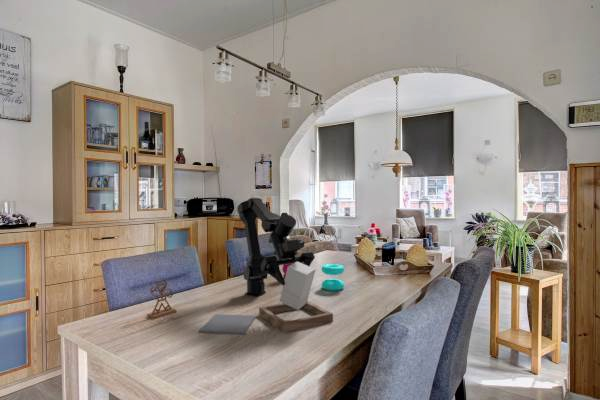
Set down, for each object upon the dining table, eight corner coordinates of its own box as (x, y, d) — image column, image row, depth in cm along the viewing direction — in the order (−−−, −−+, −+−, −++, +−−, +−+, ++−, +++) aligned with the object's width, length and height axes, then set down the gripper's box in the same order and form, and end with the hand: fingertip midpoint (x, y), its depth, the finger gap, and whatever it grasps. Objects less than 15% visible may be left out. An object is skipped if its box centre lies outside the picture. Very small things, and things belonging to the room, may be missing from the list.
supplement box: (307, 302, 116) (316, 269, 113) (297, 310, 109) (307, 275, 107) (288, 293, 119) (297, 260, 116) (278, 301, 112) (287, 266, 110)
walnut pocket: (259, 314, 117) (259, 307, 117) (304, 306, 126) (304, 299, 126) (283, 332, 102) (283, 324, 102) (332, 321, 111) (332, 313, 111)
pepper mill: (298, 277, 172) (298, 237, 172) (294, 280, 165) (293, 238, 165) (285, 275, 174) (285, 236, 174) (280, 279, 167) (279, 238, 167)
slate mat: (215, 316, 116) (215, 314, 116) (255, 317, 115) (255, 315, 115) (198, 332, 102) (198, 330, 102) (244, 334, 101) (244, 332, 101)
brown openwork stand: (170, 309, 123) (170, 276, 123) (176, 312, 121) (176, 278, 120) (146, 317, 116) (146, 281, 116) (153, 319, 113) (152, 283, 113)
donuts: (346, 264, 153) (340, 268, 144) (346, 286, 153) (340, 292, 144) (325, 262, 157) (318, 266, 148) (325, 284, 157) (318, 290, 148)
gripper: (264, 232, 112) (279, 272, 103) (312, 229, 122) (330, 265, 112) (254, 252, 119) (268, 291, 110) (300, 248, 129) (316, 284, 119)
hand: (296, 282), depth 113 cm, fingers closed on supplement box, 9 cm apart
